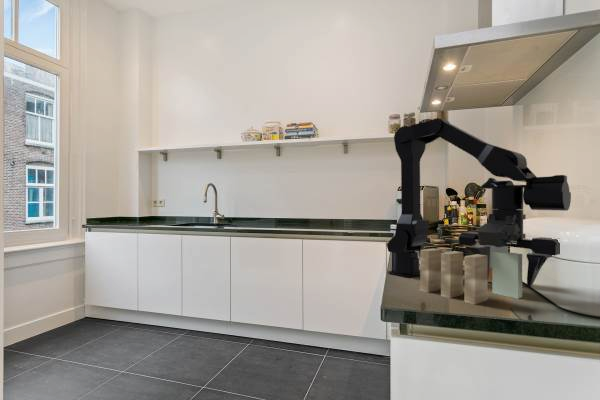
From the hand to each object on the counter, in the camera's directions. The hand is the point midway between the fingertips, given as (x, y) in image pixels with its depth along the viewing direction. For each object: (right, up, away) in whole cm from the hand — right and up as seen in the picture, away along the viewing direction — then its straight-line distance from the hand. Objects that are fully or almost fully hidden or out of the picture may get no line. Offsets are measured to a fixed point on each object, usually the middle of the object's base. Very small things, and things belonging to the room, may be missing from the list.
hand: (506, 282), depth 70 cm
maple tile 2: (-12, -3, 0) cm, 12 cm away
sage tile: (0, -3, 0) cm, 3 cm away
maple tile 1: (-15, -3, +4) cm, 15 cm away
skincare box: (+4, -3, +12) cm, 13 cm away
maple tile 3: (-9, -3, -5) cm, 10 cm away
